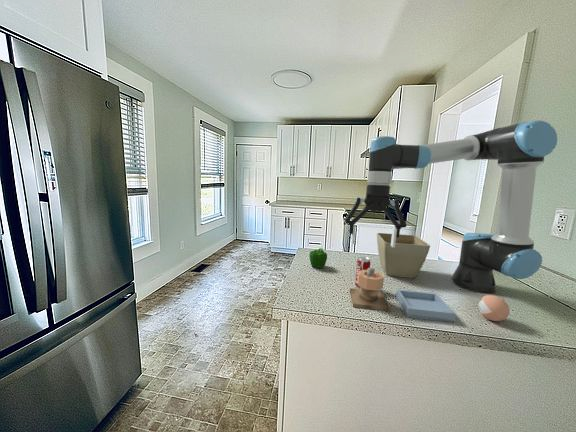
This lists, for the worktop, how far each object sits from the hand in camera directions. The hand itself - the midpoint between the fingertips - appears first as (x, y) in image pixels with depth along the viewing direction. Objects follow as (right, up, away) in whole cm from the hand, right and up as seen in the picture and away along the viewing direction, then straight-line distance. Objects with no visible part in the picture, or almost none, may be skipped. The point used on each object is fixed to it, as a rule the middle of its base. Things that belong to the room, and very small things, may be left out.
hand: (372, 244), depth 86 cm
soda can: (0, -19, +14) cm, 24 cm away
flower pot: (+23, -17, +32) cm, 43 cm away
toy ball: (+37, -24, -6) cm, 44 cm away
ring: (0, -15, +2) cm, 15 cm away
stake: (-1, -21, +3) cm, 21 cm away
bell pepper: (-15, -15, +35) cm, 41 cm away
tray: (+17, -22, -1) cm, 28 cm away
